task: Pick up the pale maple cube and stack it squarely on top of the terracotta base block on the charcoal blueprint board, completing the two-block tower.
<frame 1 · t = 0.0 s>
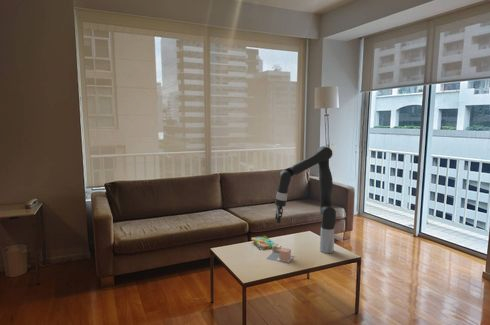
hand: (277, 220, 230), 22 cm above the table, tool pointing down, fingers open, 8 cm apart
maple cube: (276, 252, 231), on the table
terracotta base block: (284, 258, 217), resting on blueprint board
puzzle game: (263, 246, 243), on the table
blueprint board: (280, 259, 218), on the table
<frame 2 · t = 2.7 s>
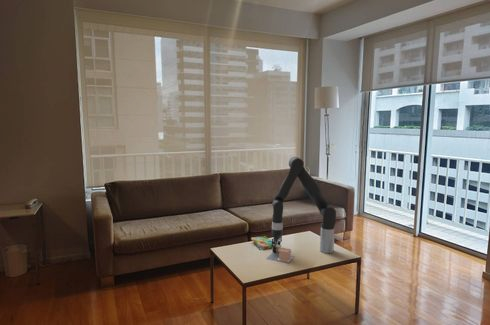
hand: (276, 250, 231), 1 cm above the table, tool pointing down, fingers open, 8 cm apart
nothing on the table moved.
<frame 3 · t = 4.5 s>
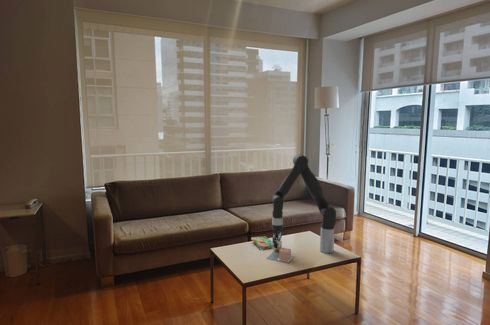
hand: (277, 246, 231), 4 cm above the table, tool pointing down, fingers closed on maple cube, 5 cm apart
maple cube: (277, 248, 231), point 3 cm above the table, touching gripper
everything else where it was.
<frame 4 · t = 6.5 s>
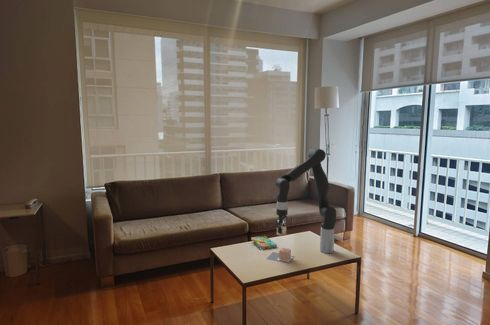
hand: (281, 232, 221), 17 cm above the table, tool pointing down, fingers closed on maple cube, 5 cm apart
maple cube: (281, 234, 221), point 16 cm above the table, touching gripper
everything else where it was.
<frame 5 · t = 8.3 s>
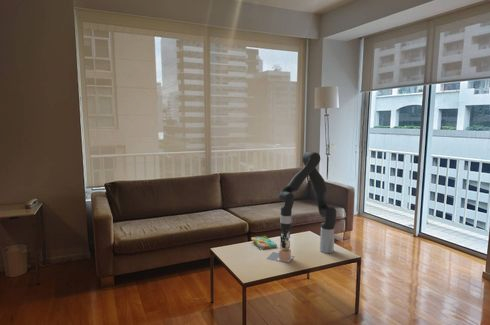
hand: (285, 246, 216), 10 cm above the table, tool pointing down, fingers closed on maple cube, 5 cm apart
maple cube: (285, 248, 216), point 8 cm above the table, touching gripper
everything else where it was.
when the fingers open (9 cm above the table, at t = 9.4 s): maple cube stays where it is, resting on terracotta base block.
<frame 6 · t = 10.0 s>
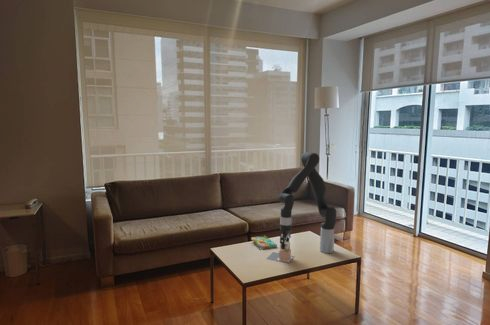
hand: (285, 246, 216), 10 cm above the table, tool pointing down, fingers open, 8 cm apart
maple cube: (285, 249, 216), point 7 cm above the table, touching terracotta base block
everything else where it was.
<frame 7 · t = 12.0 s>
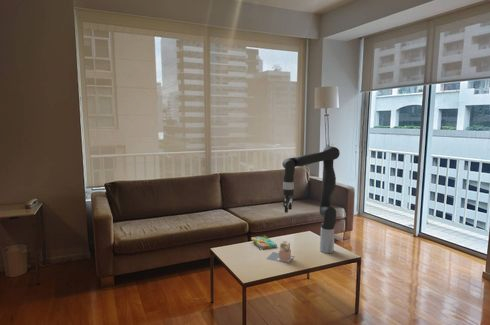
hand: (288, 211, 226), 30 cm above the table, tool pointing down, fingers open, 8 cm apart
nothing on the table moved.
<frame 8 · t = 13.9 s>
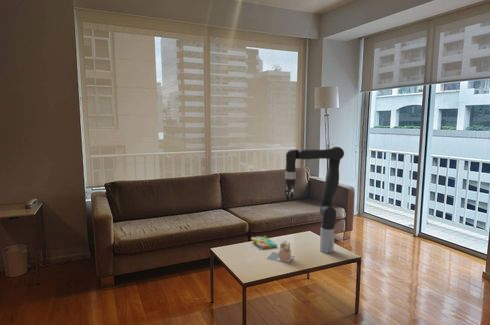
hand: (289, 200, 234), 36 cm above the table, tool pointing down, fingers open, 8 cm apart
nothing on the table moved.
at the end: maple cube 0.0 cm off-centre on the terracotta base block, point 6.0 cm above the terracotta base block's base; maple cube tilted 0°; the gripper is holding nothing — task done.
